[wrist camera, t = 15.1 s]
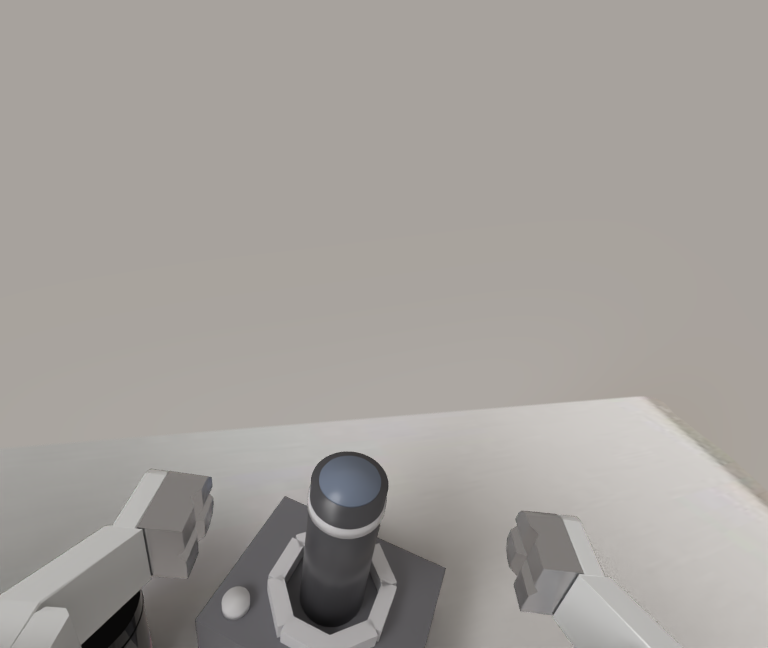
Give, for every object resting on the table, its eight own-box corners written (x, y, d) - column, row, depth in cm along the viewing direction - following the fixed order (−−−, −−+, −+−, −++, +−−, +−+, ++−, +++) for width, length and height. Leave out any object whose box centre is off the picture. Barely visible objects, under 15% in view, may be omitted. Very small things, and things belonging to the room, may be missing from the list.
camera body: (199, 660, 35) (193, 608, 31) (282, 535, 45) (285, 485, 41) (387, 769, 31) (406, 725, 27) (431, 605, 41) (449, 557, 37)
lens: (285, 609, 33) (294, 493, 27) (318, 550, 37) (332, 439, 31) (347, 641, 32) (372, 528, 25) (374, 577, 36) (401, 466, 30)
